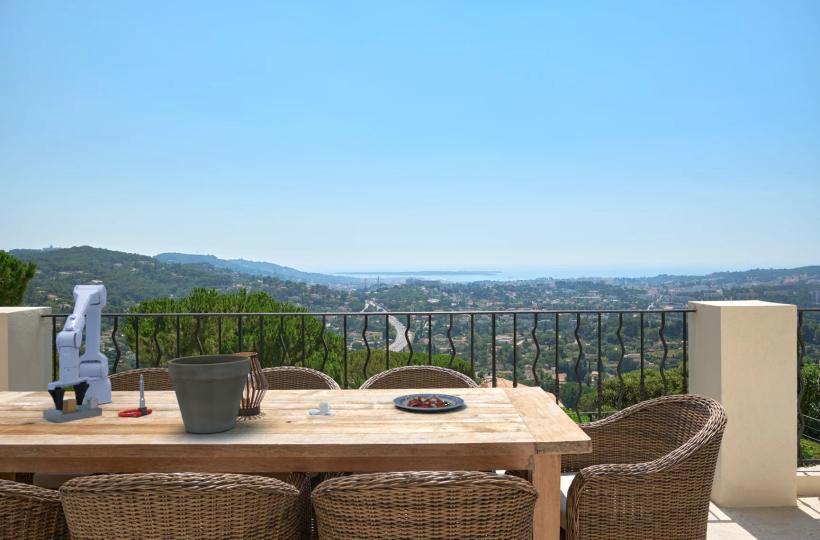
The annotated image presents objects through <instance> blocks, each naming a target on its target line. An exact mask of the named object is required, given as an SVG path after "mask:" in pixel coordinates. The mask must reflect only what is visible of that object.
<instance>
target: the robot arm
mask: <svg viewBox="0 0 820 540" xmlns="http://www.w3.org/2000/svg"><path fill="white" fill-rule="evenodd" d="M72 294H73V295H72V296H73V299H74V303H75V304H74V308H73V311H72V312H73V313H72V314H69V315H68V316H67V318H66V321H65V322H64V326H63V328H62V331H60V332H58V333H57V335H56V340H55V344H56V349H57V354H58V355H59V356H58V357H59V358H58V360H59V364H58V367H59V370H58V371H59V373H58V374H59V375H58V376H59V379H58V380H55V381H53V382H49V383H47V392H48V393H49V395H50V396H51V398H52V401H53V403H54V406H55V408H56V410H62V409H63V400H64V397H65V393H66V389H63V388H65V387H70V386H72V387H73V391H74V399H76V405H80V406H81V405H82V403H83V399H84V396H85V395H86V396H88V397H95V399H98V405H101V404H107V403H112V402H113V400H112V382H111V379H110V378H108V377H107V376H108V375H109V370H110V369H109V362H108V360H109V359H108V357H107V356H106V355H105V354H103V353H102V352H100V350H101V323H102V322H101V317H102V315H101V314H102V309H103V308H105V307H106V305H107V289H106V286H105V285H104V284H87V285H86V284H76V285H75V286H74V288H73V293H72ZM85 315H86V316H85ZM85 317H86V318H85ZM85 325H86V326H85ZM84 327H85V345H84V346H85V350H84V351H85V353H83V354H82V355H81V356H80V355H79V354H80V351H79V350H80V349H79V348H80V347H81V346H82V341H83V330H84Z"/></svg>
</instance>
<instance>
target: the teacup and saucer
mask: <svg viewBox="0 0 820 540" xmlns="http://www.w3.org/2000/svg"><path fill="white" fill-rule="evenodd" d="M331 408H332V407H331V405H330V404H329V403H328V402H320V403H318V409H316V408H310V409H309V410H308V414H309V415H311V416H312V417H315V418H321V416H323V418H328V417H334V416H335V415H336V413H335V412H333V411H331ZM328 414H330V415H328ZM318 415H319V416H318Z"/></svg>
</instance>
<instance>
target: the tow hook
mask: <svg viewBox="0 0 820 540" xmlns="http://www.w3.org/2000/svg"><path fill="white" fill-rule="evenodd" d="M144 385H145V381H144V375H143V374H140V375H139V407H138V408H135V409H134V408H133V409H127V410H126V409H125V410H121V411H119V412H118V413H117V416H118V417H121V418H122V417H125V418H126V417H133V418H138V417H143V416H146V415H150V414H152V413H153V409H152V408H148V407H147V406H146V399H145V386H144Z"/></svg>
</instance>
